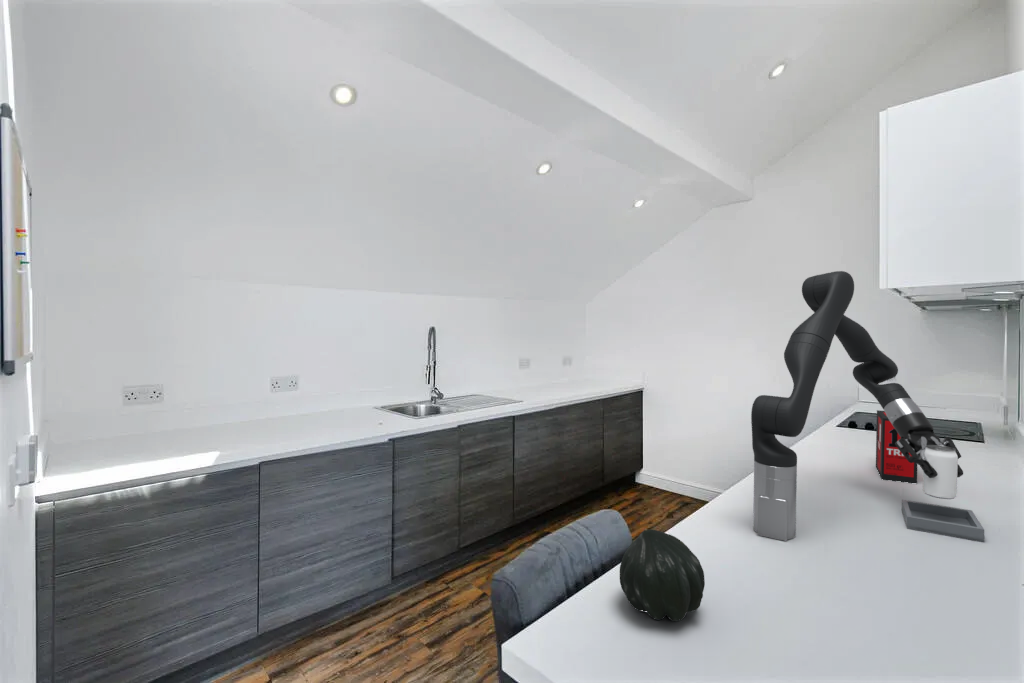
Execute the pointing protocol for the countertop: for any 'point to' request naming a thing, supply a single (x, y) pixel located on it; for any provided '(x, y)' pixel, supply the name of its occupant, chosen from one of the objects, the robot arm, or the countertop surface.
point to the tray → (942, 520)
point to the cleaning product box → (891, 453)
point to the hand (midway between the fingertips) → (946, 476)
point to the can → (941, 472)
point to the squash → (661, 576)
